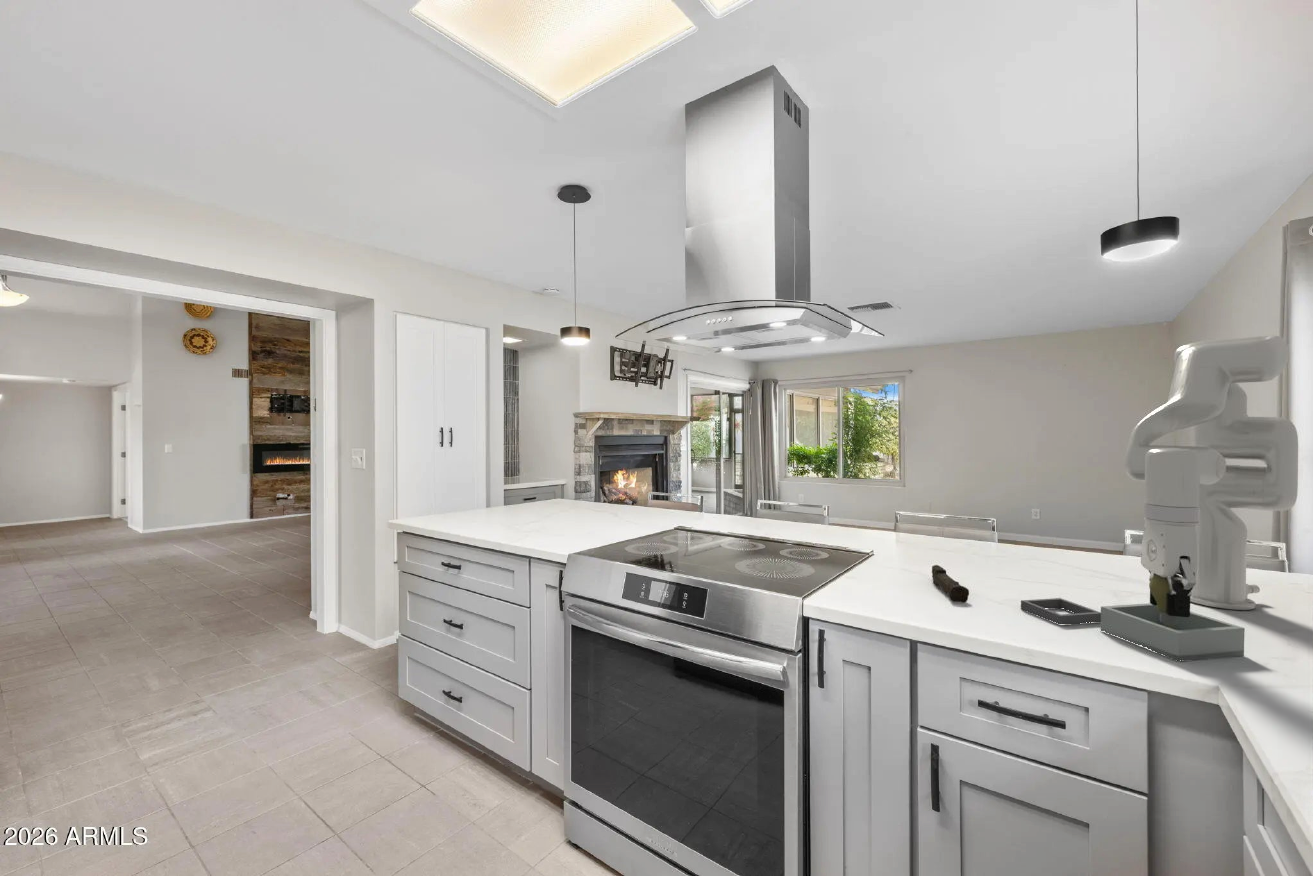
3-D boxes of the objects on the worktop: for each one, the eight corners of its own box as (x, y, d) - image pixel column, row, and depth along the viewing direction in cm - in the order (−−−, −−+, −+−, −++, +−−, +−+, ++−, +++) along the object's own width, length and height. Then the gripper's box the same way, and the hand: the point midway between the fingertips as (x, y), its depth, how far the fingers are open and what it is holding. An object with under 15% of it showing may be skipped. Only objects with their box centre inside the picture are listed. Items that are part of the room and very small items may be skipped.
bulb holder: (1060, 606, 123) (1060, 597, 123) (1102, 622, 114) (1102, 613, 114) (1020, 609, 122) (1020, 600, 122) (1060, 625, 112) (1060, 616, 112)
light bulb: (1188, 624, 103) (1189, 572, 103) (1190, 633, 99) (1191, 578, 99) (1148, 618, 107) (1149, 567, 107) (1148, 626, 103) (1149, 573, 103)
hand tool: (969, 604, 126) (969, 584, 126) (950, 602, 127) (950, 582, 127) (945, 581, 145) (945, 563, 145) (928, 580, 146) (929, 563, 146)
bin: (1159, 627, 111) (1160, 602, 111) (1243, 655, 97) (1244, 628, 97) (1100, 631, 109) (1100, 606, 109) (1177, 661, 95) (1178, 633, 95)
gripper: (1125, 506, 112) (1124, 594, 112) (1169, 521, 96) (1167, 623, 96) (1172, 508, 109) (1170, 598, 110) (1225, 523, 93) (1222, 629, 94)
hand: (1169, 609), depth 103 cm, fingers closed on light bulb, 5 cm apart
